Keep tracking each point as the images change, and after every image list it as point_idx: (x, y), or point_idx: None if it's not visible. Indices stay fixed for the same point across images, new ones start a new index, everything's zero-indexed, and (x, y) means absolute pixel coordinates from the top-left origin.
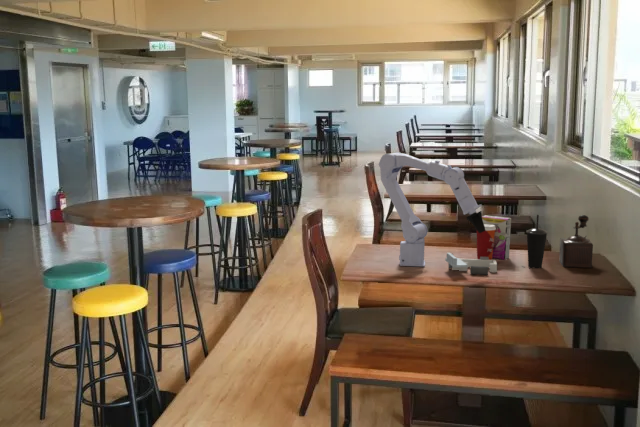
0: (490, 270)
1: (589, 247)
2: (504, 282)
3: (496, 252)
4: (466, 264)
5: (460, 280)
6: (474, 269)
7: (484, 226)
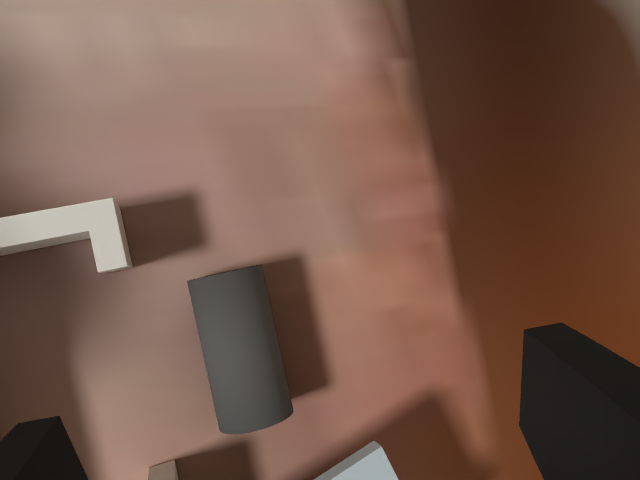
0: (129, 260)
1: None
2: (408, 123)
3: None
4: (368, 459)
5: (473, 435)
6: (284, 383)
7: (630, 362)
